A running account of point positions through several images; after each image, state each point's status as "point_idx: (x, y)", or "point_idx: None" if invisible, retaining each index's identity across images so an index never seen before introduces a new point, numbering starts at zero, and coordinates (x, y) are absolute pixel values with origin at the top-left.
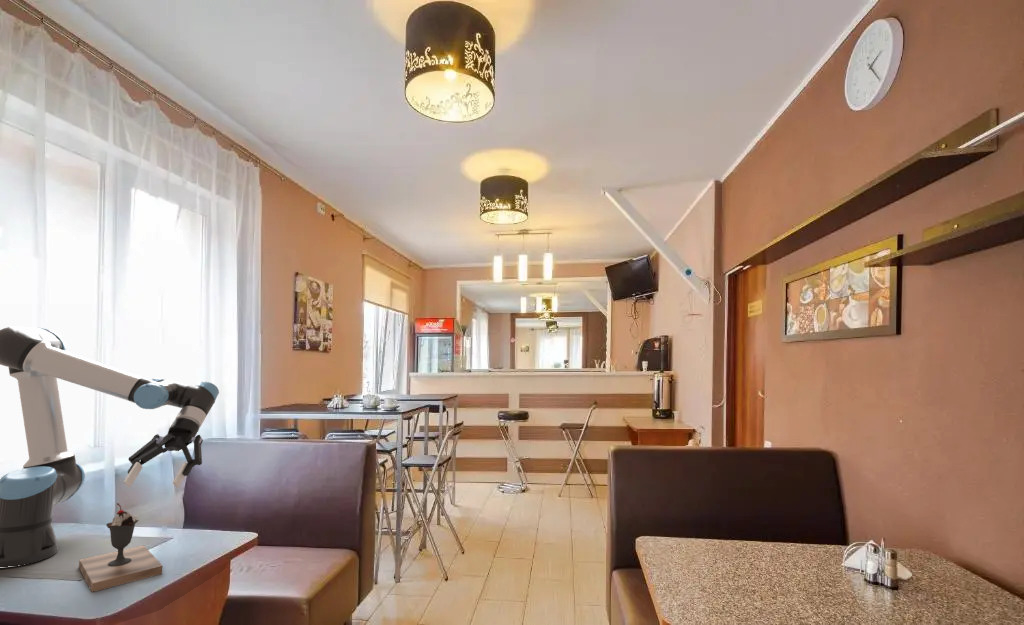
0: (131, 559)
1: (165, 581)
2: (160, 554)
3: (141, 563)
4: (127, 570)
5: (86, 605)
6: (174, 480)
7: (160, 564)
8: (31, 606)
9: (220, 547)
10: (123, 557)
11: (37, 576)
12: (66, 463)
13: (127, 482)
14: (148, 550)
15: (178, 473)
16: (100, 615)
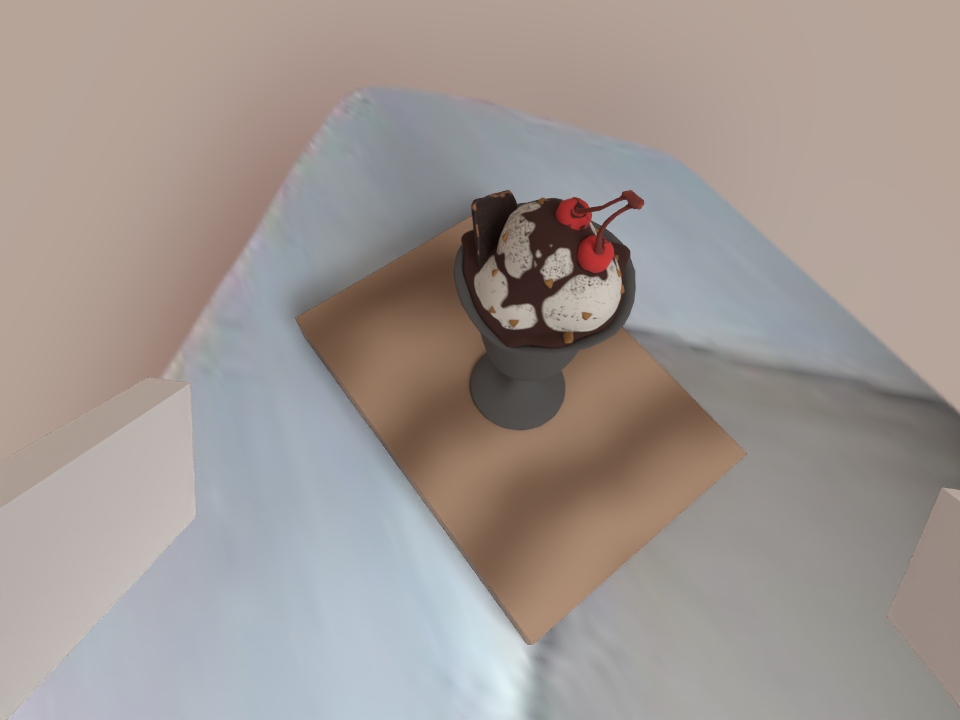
0: (478, 408)
1: (264, 265)
2: (412, 597)
3: (406, 358)
4: (429, 291)
5: (453, 143)
6: (157, 397)
7: (310, 333)
8: (622, 162)
9: (76, 674)
10: (503, 374)
11: (829, 391)
12: None
13: (938, 530)
14: (457, 538)
15: (50, 461)
16: (375, 87)
